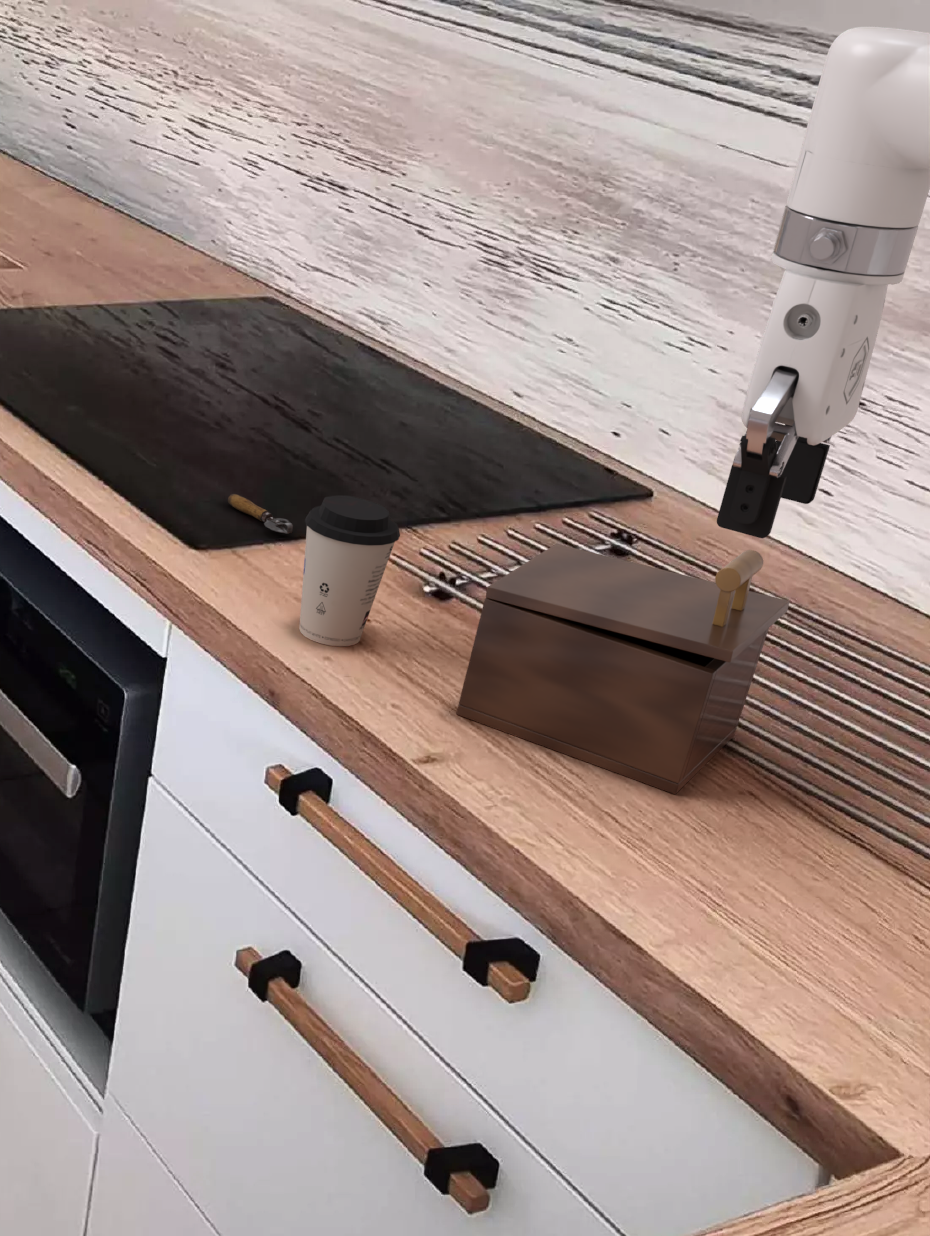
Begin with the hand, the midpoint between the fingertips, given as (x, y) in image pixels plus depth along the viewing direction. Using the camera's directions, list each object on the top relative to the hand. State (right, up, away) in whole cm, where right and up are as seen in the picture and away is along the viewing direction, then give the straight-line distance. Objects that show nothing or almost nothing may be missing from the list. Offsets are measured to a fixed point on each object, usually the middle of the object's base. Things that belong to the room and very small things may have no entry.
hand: (765, 514), depth 127 cm
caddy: (-7, -13, +11) cm, 19 cm away
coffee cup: (-24, -6, +22) cm, 33 cm away
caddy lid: (-6, -5, +7) cm, 10 cm away
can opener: (-25, +4, +42) cm, 49 cm away
